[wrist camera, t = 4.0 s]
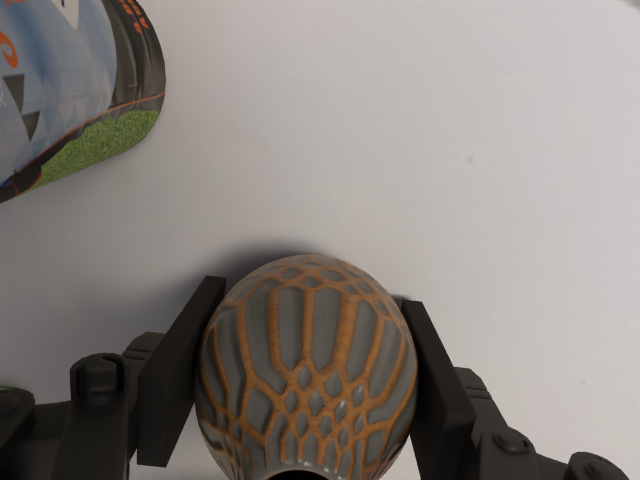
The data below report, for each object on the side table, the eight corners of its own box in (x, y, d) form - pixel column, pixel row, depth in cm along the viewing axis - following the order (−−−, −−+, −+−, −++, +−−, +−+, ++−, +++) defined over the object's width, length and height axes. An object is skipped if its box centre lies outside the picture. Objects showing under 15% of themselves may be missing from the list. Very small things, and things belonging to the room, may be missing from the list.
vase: (205, 360, 18) (104, 579, 10) (252, 207, 16) (177, 318, 8) (361, 407, 19) (389, 651, 11) (425, 265, 17) (523, 425, 9)
